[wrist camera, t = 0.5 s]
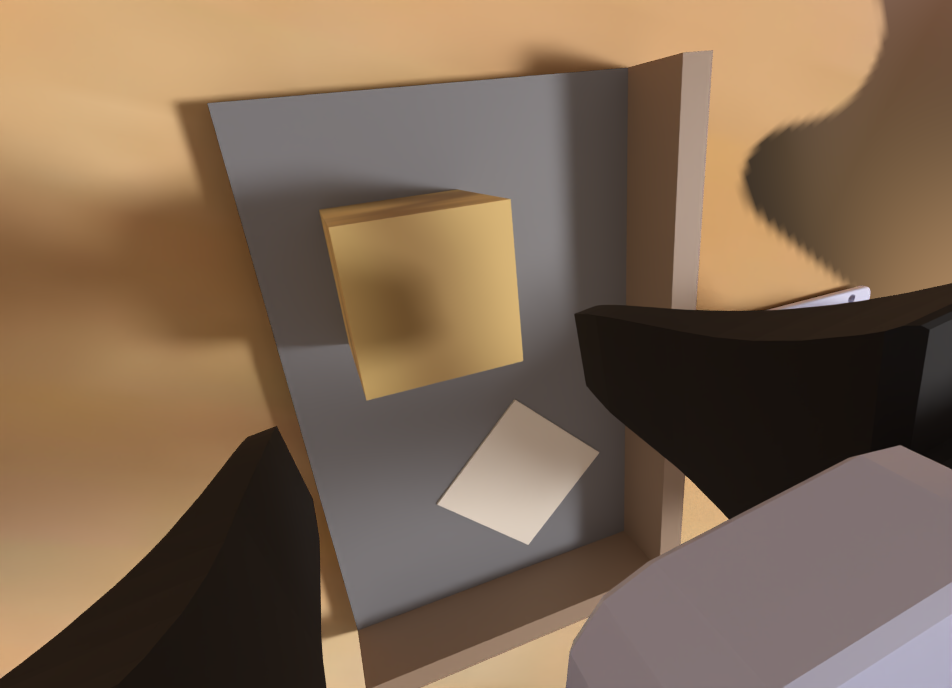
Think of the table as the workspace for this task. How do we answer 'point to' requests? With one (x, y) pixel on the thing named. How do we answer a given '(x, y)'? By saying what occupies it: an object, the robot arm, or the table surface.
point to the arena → (492, 391)
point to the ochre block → (425, 287)
